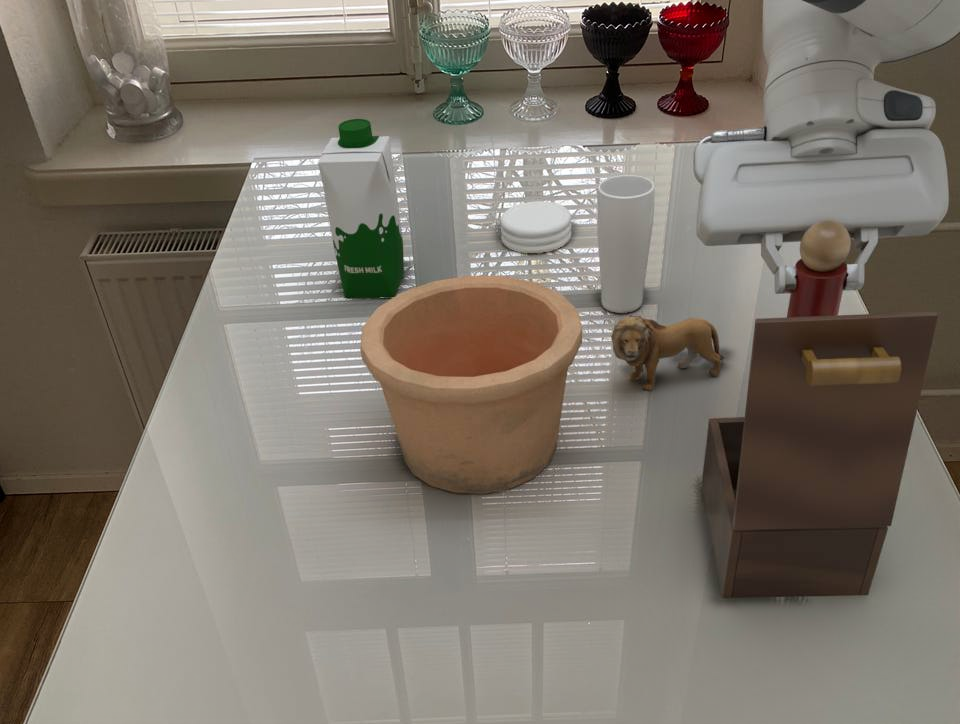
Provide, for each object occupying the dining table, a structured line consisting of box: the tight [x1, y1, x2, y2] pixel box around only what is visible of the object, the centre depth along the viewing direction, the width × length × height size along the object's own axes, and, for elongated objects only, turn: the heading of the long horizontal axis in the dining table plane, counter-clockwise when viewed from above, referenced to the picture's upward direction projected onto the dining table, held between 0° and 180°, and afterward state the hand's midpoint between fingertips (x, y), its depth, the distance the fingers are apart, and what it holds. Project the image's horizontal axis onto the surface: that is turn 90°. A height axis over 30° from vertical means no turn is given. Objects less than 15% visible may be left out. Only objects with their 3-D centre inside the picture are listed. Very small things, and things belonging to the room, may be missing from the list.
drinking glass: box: [596, 174, 655, 314], centre depth 122 cm, size 7×7×15 cm
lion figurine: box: [610, 315, 725, 392], centre depth 111 cm, size 15×5×9 cm, turn 113°
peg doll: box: [786, 220, 852, 318], centre depth 84 cm, size 4×4×11 cm
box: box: [700, 416, 889, 599], centre depth 91 cm, size 17×13×9 cm
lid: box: [733, 310, 939, 530], centre depth 74 cm, size 17×13×5 cm
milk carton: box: [317, 118, 405, 299], centre depth 128 cm, size 9×9×20 cm
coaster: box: [500, 200, 572, 254], centre depth 140 cm, size 10×10×4 cm
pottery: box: [359, 275, 583, 495], centre depth 102 cm, size 22×22×14 cm
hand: (819, 290), depth 84 cm, fingers closed on peg doll, 4 cm apart
